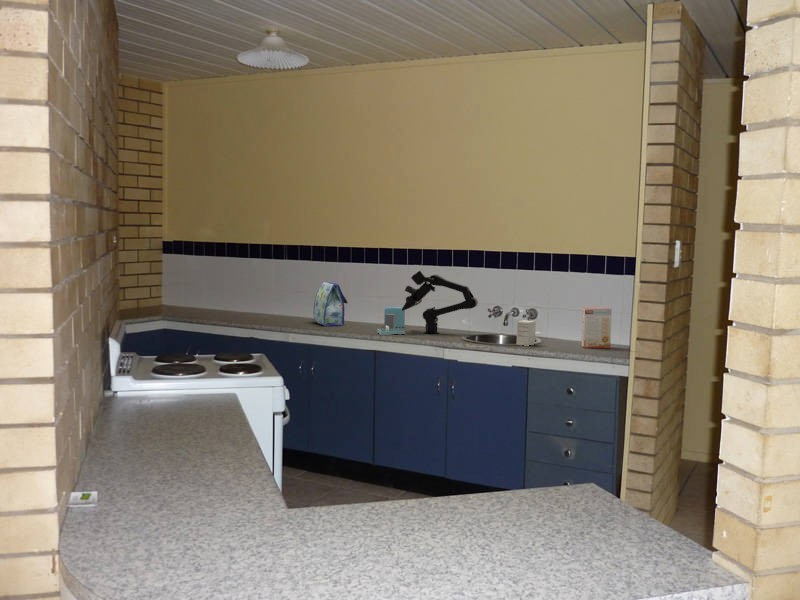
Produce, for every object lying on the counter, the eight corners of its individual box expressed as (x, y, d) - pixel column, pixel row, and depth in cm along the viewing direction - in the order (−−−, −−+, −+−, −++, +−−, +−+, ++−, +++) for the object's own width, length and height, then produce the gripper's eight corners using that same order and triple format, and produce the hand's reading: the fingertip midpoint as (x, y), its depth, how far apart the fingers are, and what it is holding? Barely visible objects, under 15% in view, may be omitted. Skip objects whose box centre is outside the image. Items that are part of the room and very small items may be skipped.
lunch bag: (348, 325, 487) (349, 283, 484) (323, 326, 479) (323, 283, 477) (335, 321, 506) (336, 280, 504) (311, 322, 499) (311, 281, 497)
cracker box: (607, 346, 417) (608, 307, 415) (610, 348, 411) (612, 308, 409) (580, 346, 416) (582, 306, 414) (583, 348, 410) (585, 307, 408)
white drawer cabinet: (523, 343, 424) (523, 319, 423) (535, 344, 419) (536, 321, 418) (515, 344, 418) (516, 320, 417) (528, 346, 414) (528, 322, 412)
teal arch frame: (403, 326, 486) (404, 307, 485) (404, 327, 482) (404, 308, 481) (384, 326, 485) (384, 307, 484) (384, 327, 481) (385, 308, 480)
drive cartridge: (395, 330, 466) (395, 314, 465) (393, 331, 461) (393, 314, 461) (387, 330, 467) (387, 313, 467) (384, 331, 463) (385, 314, 462)
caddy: (400, 332, 459) (400, 324, 459) (405, 334, 449) (405, 327, 448) (376, 332, 456) (376, 325, 456) (381, 335, 445) (381, 327, 445)
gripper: (416, 280, 468) (398, 298, 471) (409, 282, 450) (390, 300, 453) (429, 293, 467) (411, 311, 470) (423, 296, 449) (403, 314, 452)
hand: (403, 309), depth 461 cm, fingers open, 9 cm apart
